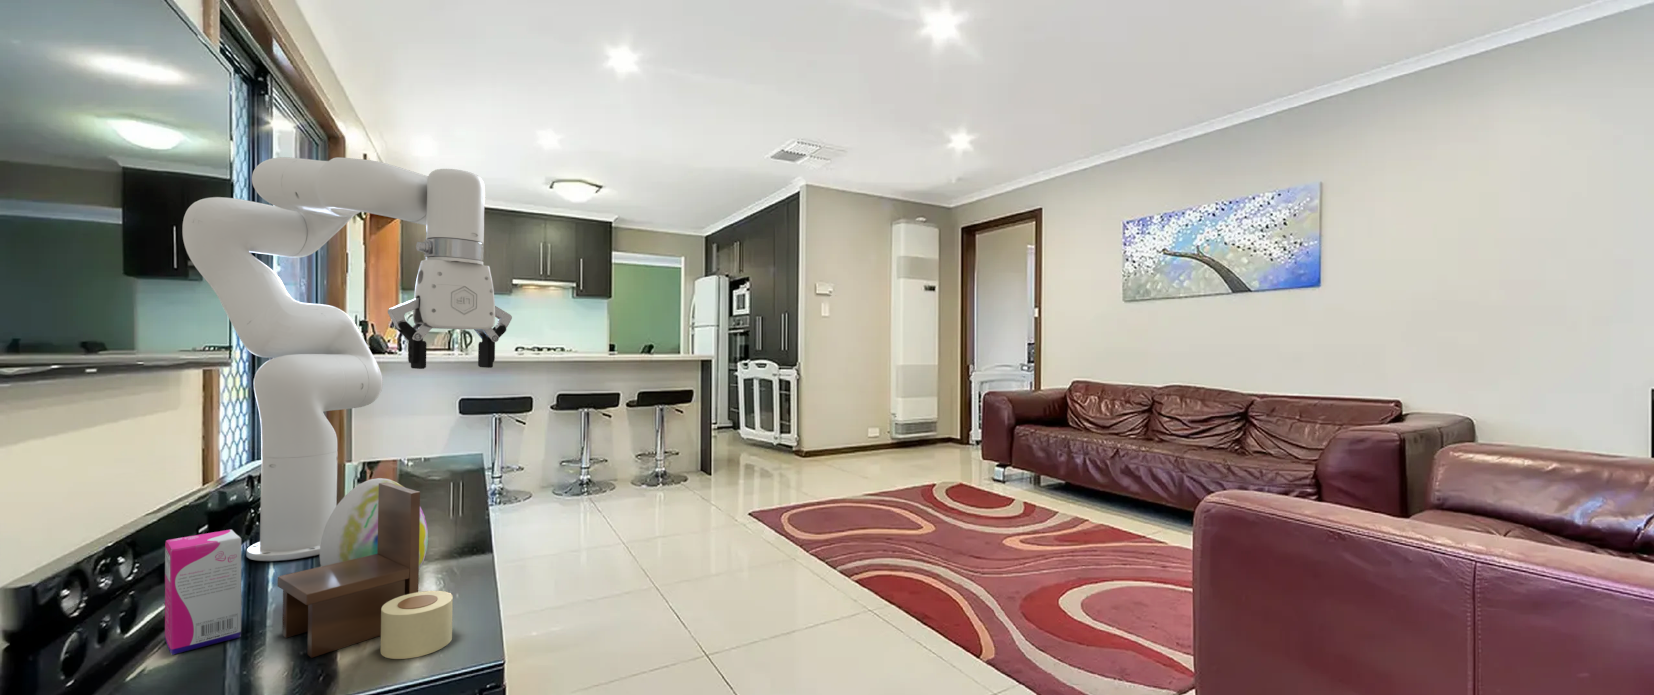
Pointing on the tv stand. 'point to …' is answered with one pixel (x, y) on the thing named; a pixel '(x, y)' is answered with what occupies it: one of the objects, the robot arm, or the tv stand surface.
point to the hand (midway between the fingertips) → (453, 367)
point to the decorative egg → (359, 526)
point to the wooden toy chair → (357, 581)
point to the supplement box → (202, 590)
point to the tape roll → (416, 624)
